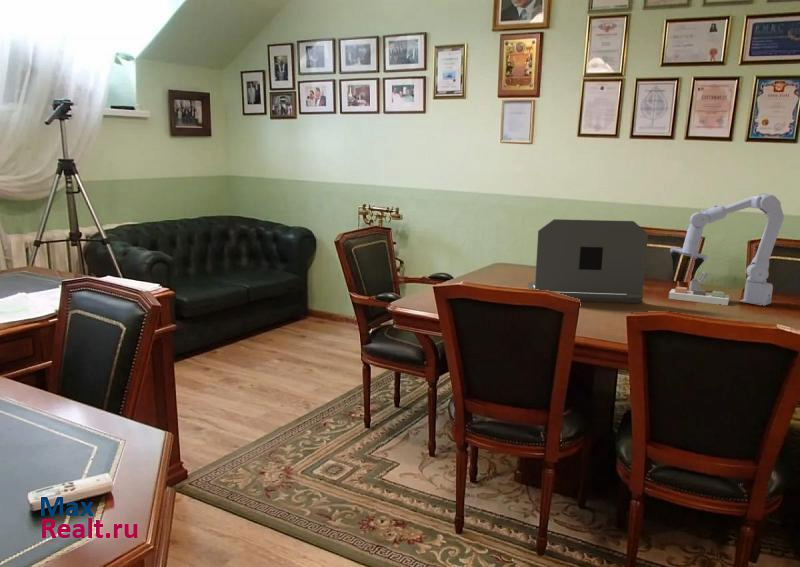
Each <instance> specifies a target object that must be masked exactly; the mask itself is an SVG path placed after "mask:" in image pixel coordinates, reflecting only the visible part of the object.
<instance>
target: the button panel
mask: <svg viewBox="0 0 800 567" xmlns="http://www.w3.org/2000/svg"><path fill="white" fill-rule="evenodd" d="M668 299H670V300H676V301H677V300H679V301H687V302H697V303H703V304H713V305H719V304H721V306H728V304H729V301H730V294H724V298H721V297H712V292H705V296H703V295H694V294H693V291H689V290H687V294H685V293H676V292H675V288H671V290H670V291H669V293H668Z"/></svg>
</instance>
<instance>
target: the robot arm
mask: <svg viewBox="0 0 800 567" xmlns="http://www.w3.org/2000/svg"><path fill="white" fill-rule="evenodd" d="M781 204H782V203H781V200H780V199H779V198H777V196H776V195H773V194H768V193H761V194H760V193H759V194H757V195H752V196H749V197H746V198H743V199H741V200H738V201H736V202H733V203H730V204H728V205H725V206H723V205H721V204H719V205H717V204H714V205H712V207H710V208H706V209H702V210H700V212H694V213H692V215H690V217H689V220H688V221H689V225H688V228H687V230H686V231H687V232H686V235H685V238H684V242H683V245H682V248H678V247H673V246H671V247H670V250H669V252H670V253H671V254H670V255H671V259H672V271H673V272H674V271H676V270H677V266H678V263H679V260H680V257H681V255H682V256H686V257H691V258H694V264H693V268H692V271H691V274H690V275H691V276H695V275H696V272H697V271H698V269H699V268H700V266H702V264H704V262H705V261H707V260H708V258H709V256H708V255H706V254H703V253H700V252H699V253H698V250H699V247H700V246H699V245H700V243H701V239H702V235H703V231H704V227H706V226H707V224H711V223H715V222H717V221H720V220H724V219H725V218H726V217H727V216H728V215H729V214H731V213H734V212H738V211H741V210H744V209H748V208H750V209H751V208H752V209H759V210H760V211H762V212H763V213H764V215H765V217H766V218H767V222H766V223H765V224H766V225H765V227H764V231H763V233H762V236H761V240H760V241H759V245H758V248H757V251H756V254H755V256H754V258H752V260H751V262H750V264H749V265H748V266H747V267H746V269H745V270H746V271H745V273H746V275H747V278H746V280H745V285H744V286H745V287H744V294H743V299H740V300H739V302H741V303H745V304H747V303H748V304H751V305H752V304H753V305H758V306H762V305H763V306H766V305H770V304H772V297H773V296H772V295H773V290H774V286H773V284H772V283H769V282H767V279H768V278H769V275H770V274H769V269H770V268H769V267H770V258H771V255H772V253H773V250H774V247H775V244H776V241H777V238H778V236H779V233H780V230H781V227H782V224H783V223H784V222H783V221H784V218H785V215H784V212H783V209H782V205H781ZM763 306H762V307H763Z"/></svg>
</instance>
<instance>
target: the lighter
mask: <svg viewBox="0 0 800 567" xmlns="http://www.w3.org/2000/svg"><path fill="white" fill-rule="evenodd" d="M699 276H700V277H699V278H692V280H690V281H689V283H688V284H689V286H688V291H694V289H701V287H700V286H701V283H703V282H704V281H705V279H706V278H707V276H708V273H706V272H701V274H700V275H699Z"/></svg>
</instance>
